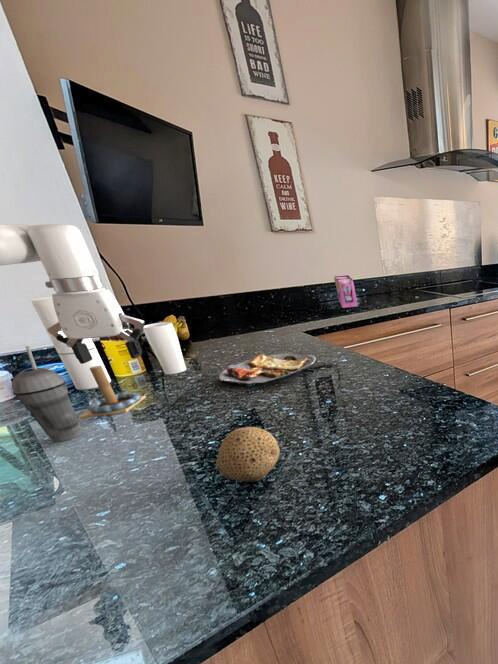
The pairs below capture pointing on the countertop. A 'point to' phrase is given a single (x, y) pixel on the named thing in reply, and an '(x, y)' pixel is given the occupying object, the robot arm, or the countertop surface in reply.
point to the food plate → (266, 368)
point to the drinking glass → (165, 346)
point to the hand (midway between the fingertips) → (112, 359)
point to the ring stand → (106, 394)
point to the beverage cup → (47, 401)
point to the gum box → (345, 291)
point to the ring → (134, 399)
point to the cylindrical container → (69, 348)
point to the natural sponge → (247, 454)
